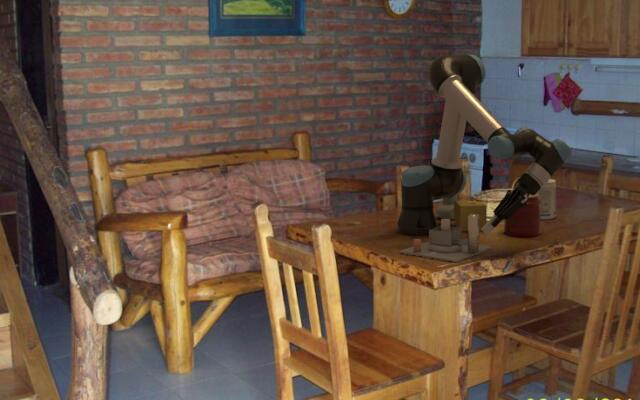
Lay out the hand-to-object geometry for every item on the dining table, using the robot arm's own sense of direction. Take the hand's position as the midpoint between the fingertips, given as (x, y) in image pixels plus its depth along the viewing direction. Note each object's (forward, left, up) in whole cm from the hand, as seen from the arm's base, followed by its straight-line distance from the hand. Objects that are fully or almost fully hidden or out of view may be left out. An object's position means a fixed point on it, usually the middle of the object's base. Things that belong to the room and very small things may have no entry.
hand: (484, 232), depth 290 cm
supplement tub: (-9, +62, -7) cm, 63 cm away
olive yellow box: (-22, +29, -7) cm, 38 cm away
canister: (-3, +33, -7) cm, 34 cm away
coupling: (-7, -5, -6) cm, 11 cm away
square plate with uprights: (-11, -6, -7) cm, 14 cm away
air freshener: (-38, +41, -7) cm, 57 cm away
